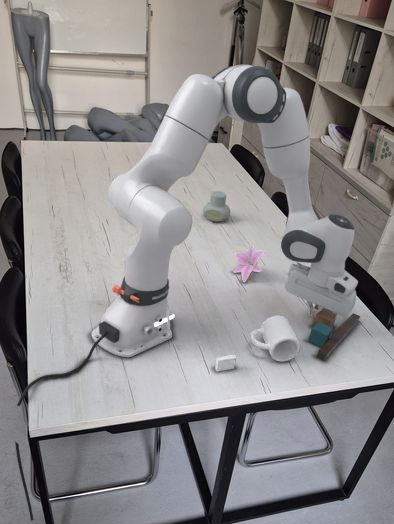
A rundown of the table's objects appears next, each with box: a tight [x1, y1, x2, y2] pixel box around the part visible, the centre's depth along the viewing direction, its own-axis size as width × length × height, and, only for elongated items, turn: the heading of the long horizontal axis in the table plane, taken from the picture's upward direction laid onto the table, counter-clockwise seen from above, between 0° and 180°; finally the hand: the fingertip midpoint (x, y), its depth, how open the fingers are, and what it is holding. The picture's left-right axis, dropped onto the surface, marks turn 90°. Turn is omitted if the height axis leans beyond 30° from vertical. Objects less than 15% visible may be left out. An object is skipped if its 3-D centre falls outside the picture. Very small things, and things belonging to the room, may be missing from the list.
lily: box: [233, 243, 266, 284], centre depth 159 cm, size 12×12×10 cm
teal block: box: [307, 322, 334, 348], centre depth 136 cm, size 4×4×4 cm
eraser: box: [214, 354, 237, 372], centre depth 123 cm, size 1×5×4 cm, turn 110°
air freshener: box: [202, 190, 232, 223], centre depth 190 cm, size 11×8×10 cm
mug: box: [249, 315, 301, 362], centre depth 129 cm, size 12×10×8 cm
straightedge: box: [316, 312, 361, 362], centre depth 138 cm, size 24×2×2 cm, turn 143°
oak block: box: [312, 308, 338, 328], centre depth 141 cm, size 4×4×4 cm
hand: (312, 314), depth 143 cm, fingers closed
